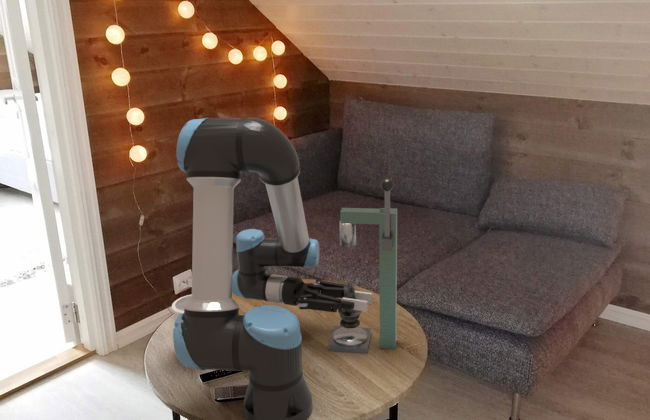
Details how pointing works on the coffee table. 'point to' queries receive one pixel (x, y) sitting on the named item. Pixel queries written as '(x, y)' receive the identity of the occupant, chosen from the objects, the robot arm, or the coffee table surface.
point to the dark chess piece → (349, 310)
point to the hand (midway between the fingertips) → (369, 302)
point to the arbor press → (387, 221)
